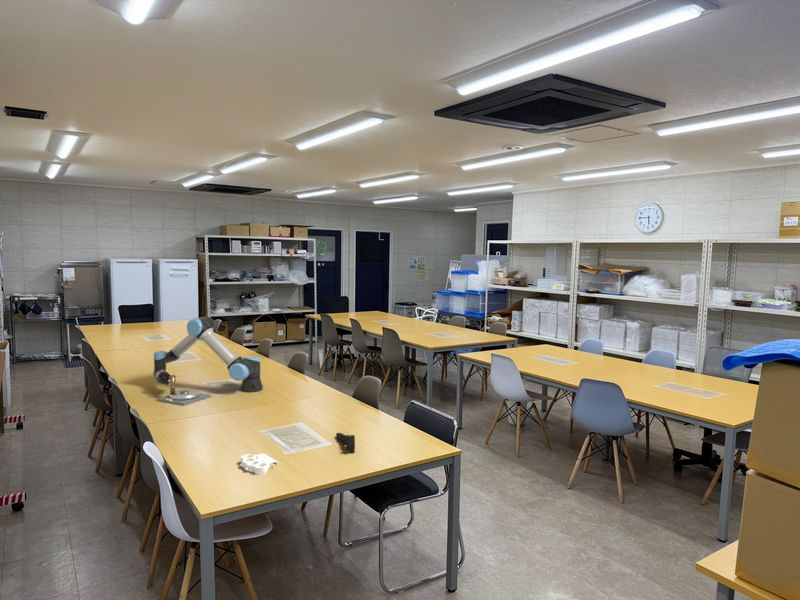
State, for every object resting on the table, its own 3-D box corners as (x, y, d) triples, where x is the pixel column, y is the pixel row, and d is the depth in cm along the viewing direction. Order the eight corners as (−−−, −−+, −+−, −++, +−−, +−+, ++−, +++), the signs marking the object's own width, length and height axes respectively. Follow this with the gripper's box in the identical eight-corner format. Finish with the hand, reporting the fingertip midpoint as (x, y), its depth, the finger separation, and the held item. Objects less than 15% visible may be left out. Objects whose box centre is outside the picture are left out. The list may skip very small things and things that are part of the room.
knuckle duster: (281, 469, 235) (251, 478, 225) (262, 457, 248) (233, 464, 239) (281, 461, 235) (251, 470, 225) (262, 450, 248) (232, 457, 238)
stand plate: (211, 397, 348) (211, 393, 348) (184, 405, 327) (184, 402, 327) (185, 392, 357) (185, 389, 357) (157, 401, 336) (156, 397, 336)
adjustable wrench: (341, 446, 276) (355, 453, 253) (336, 447, 275) (349, 454, 252) (340, 430, 277) (354, 435, 254) (335, 430, 276) (349, 436, 253)
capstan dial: (201, 397, 339) (201, 376, 338) (171, 401, 330) (171, 379, 328) (196, 391, 354) (196, 370, 353) (167, 394, 345) (167, 373, 344)
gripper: (173, 380, 364) (182, 388, 345) (153, 383, 356) (160, 390, 337) (173, 370, 363) (182, 376, 344) (152, 372, 356) (160, 379, 337)
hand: (171, 383), depth 341 cm, fingers closed
